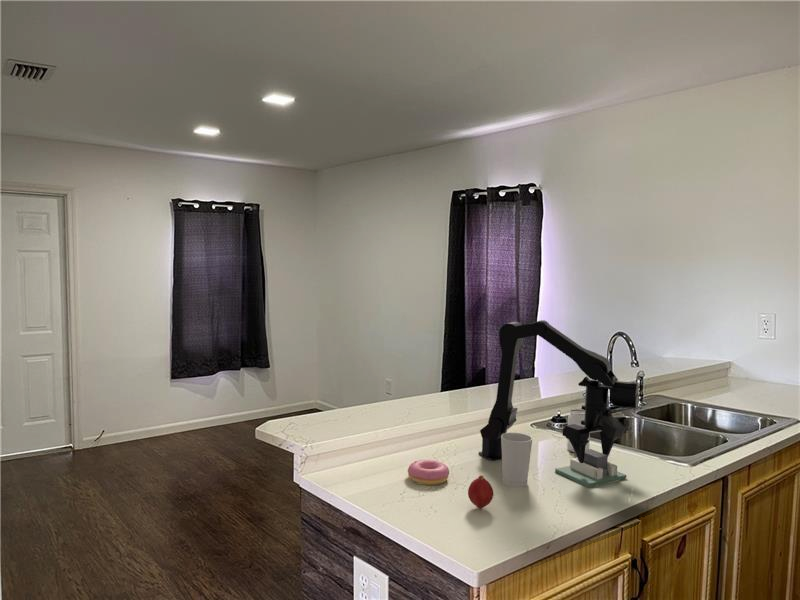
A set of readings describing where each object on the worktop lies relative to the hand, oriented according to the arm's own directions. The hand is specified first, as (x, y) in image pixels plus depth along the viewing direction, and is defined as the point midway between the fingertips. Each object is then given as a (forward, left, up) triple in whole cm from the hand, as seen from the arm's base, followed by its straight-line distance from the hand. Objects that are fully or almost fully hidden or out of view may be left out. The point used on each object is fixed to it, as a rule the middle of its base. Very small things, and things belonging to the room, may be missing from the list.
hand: (593, 460), depth 160 cm
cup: (-23, +5, -4) cm, 24 cm away
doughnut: (-42, +17, -4) cm, 45 cm away
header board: (-1, 0, -4) cm, 4 cm away
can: (+12, +17, -4) cm, 21 cm away
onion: (-41, -4, -4) cm, 41 cm away
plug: (0, 0, -3) cm, 3 cm away
